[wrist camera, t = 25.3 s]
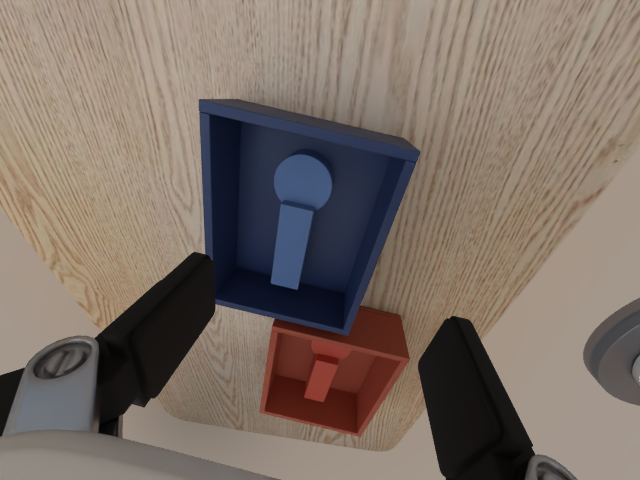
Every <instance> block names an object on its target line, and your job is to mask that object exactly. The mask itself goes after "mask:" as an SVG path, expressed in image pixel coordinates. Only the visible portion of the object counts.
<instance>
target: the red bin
mask: <svg viewBox="0 0 640 480" xmlns="http://www.w3.org/2000/svg"><path fill="white" fill-rule="evenodd" d="M312 340H313V341H318V342H322V343H326V344H330V345H334V346H338V347H343V348H347V349H351V352H350V354H349V355H348V356H347V357H346V358H344V359H341V360H339V363H338V368H337V370H336V373H335V375H334V378H333V380H332V382H331V385H330V387H329V390H328V392H327V395H326V397H325V400H324V402H320V401H316V400H312V399H308V398H304V395H305V389H306V383H307V377H308V373H309V370H310V367H311V363H312V360H313V357H314V354H315V353H314V352H313V351H312V349H311V341H312ZM409 359H410V358H409V354H408V349H407V344H406V339H405V335H404V330H403V325H402V320H401V316H399V315H395V314H391V313H387V312H383V311H379V310H374V309H370V308H366V307H362V306H360V307H359V310H358V312H357V315H356V317H355V320H354V322H353V325H352V327H351V330H350V332H349V335H348V336H347V335H343V334H339V333H334V332H330V331H326V330H322V329H318V328H313V327H309V326H305V325H301V324H297V323H293V322H288V321H284V320H280V319H276V318H275V320H274V323H273V326H272V332H271V338H270V345H269V351H268V358H267V365H266V371H265V378H264V384H263V391H262V398H261V404H260V411H259V412H260V413H264V414H268V415H272V416H276V417H280V418H284V419H288V420H293V421H297V422H301V423H305V424H309V425H313V426H318V427H322V428H326V429H330V430H334V431H338V432H342V433H347V434H351V435H355V436H359V437H361V435H362V434H363V432H364V430H365V429H366V427H367V426H368V424H369V423H370V421H371V419H372V418H373V416H374V415H375V413H376V412H377V410H378V408H379V407H380V405H381V404H382V402H383V401H384V399H385V397H386V396H387V394H388V393H389V391H390V389H391V388H392V386H393V385H394V383H395V382H396V380H397V378H398V377H399V375H400V374H401V372H402V371H403V369H404V367H405V366H406V364H407V363H408V361H409Z"/></svg>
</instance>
